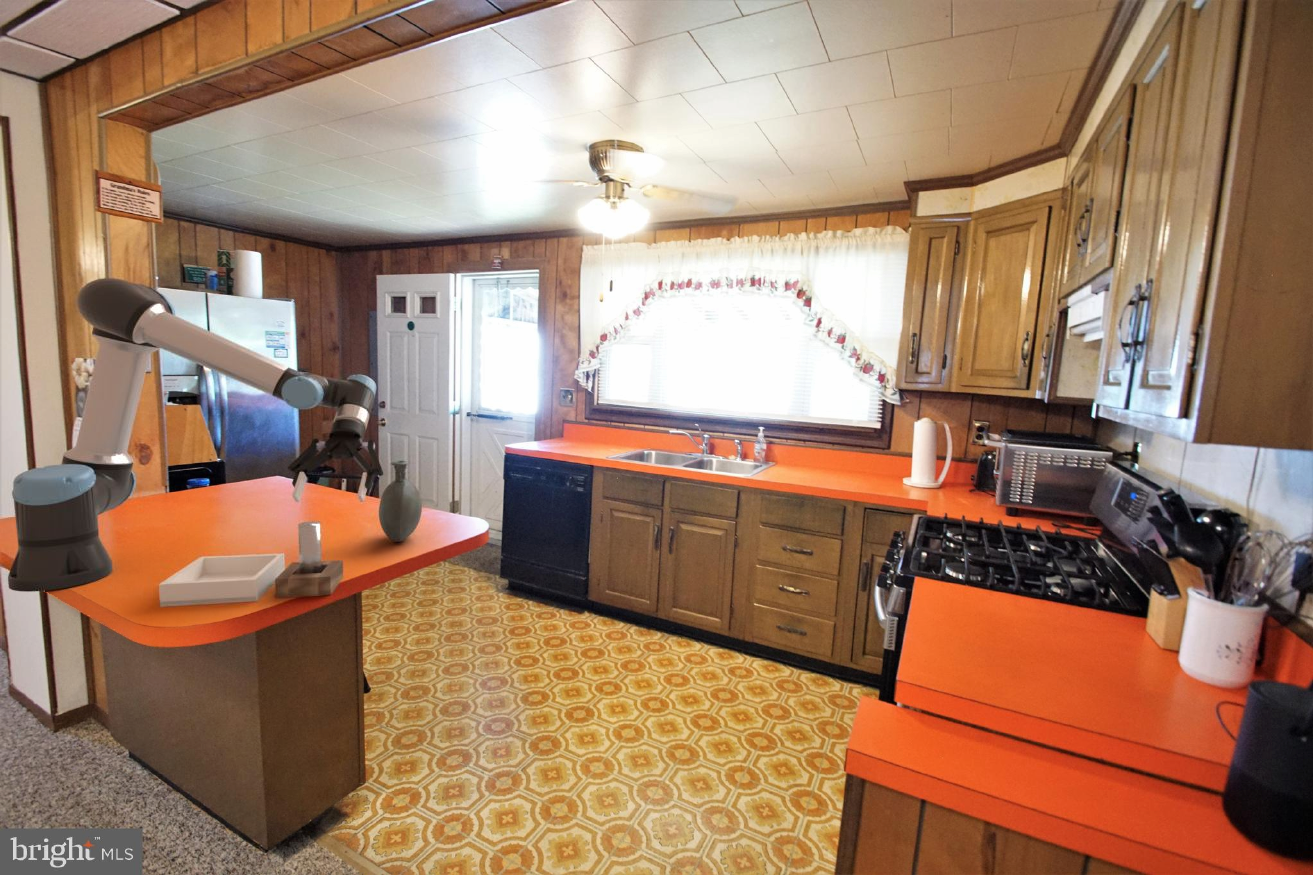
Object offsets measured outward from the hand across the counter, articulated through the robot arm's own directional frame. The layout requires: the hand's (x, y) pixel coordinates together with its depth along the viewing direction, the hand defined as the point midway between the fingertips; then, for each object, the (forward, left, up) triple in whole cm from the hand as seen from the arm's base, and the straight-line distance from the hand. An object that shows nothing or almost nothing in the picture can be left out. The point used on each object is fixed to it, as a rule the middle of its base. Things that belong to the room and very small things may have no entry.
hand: (328, 499), depth 129 cm
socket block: (-1, -11, -17) cm, 20 cm away
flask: (+12, +21, -17) cm, 30 cm away
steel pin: (-1, -11, -17) cm, 20 cm away
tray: (-17, -9, -17) cm, 25 cm away
